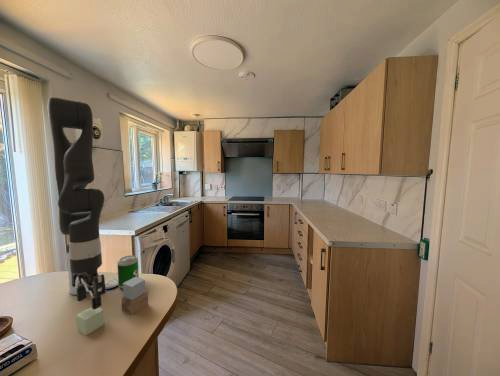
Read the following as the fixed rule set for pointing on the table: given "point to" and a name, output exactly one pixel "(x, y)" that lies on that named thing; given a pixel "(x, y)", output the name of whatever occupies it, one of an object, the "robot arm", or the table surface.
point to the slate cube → (134, 288)
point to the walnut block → (134, 303)
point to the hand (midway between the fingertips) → (89, 303)
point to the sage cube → (89, 320)
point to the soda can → (127, 269)
